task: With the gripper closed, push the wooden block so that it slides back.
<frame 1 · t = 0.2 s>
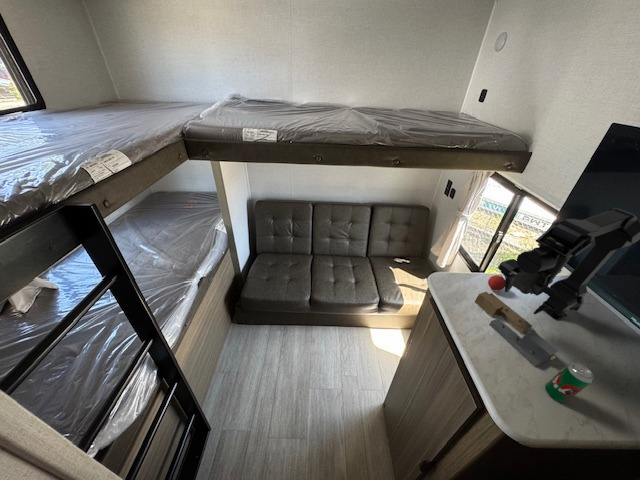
hand: (519, 302, 78), 14 cm above the worktop, fingers open, 9 cm apart
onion: (492, 289, 103), on the worktop
leaf fixed: (521, 339, 84), on the worktop
soda can: (554, 393, 70), on the worktop
wooden block: (503, 311, 91), point 2 cm above the worktop, slide at 9.5 cm
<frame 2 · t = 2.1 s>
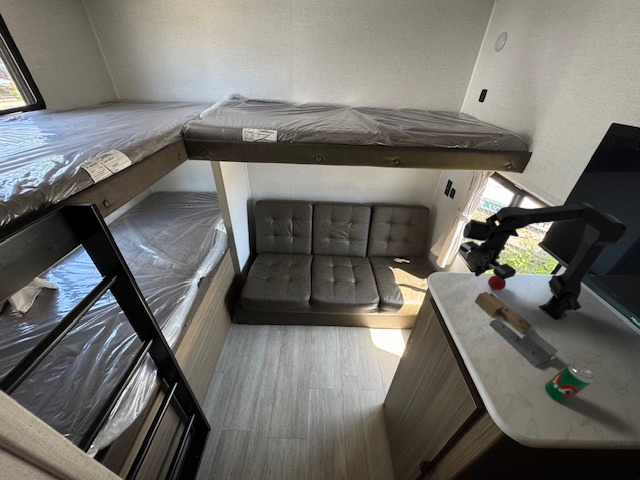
hand: (476, 275, 96), 9 cm above the worktop, fingers closed
nothing on the worktop moved.
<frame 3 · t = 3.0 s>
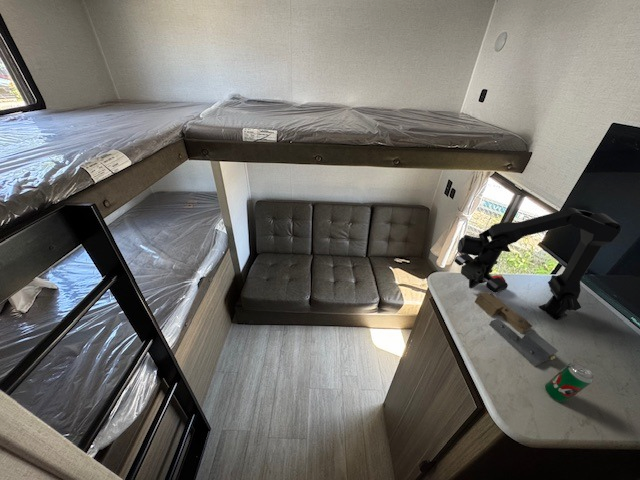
hand: (470, 287, 99), 2 cm above the worktop, fingers closed
nothing on the worktop moved.
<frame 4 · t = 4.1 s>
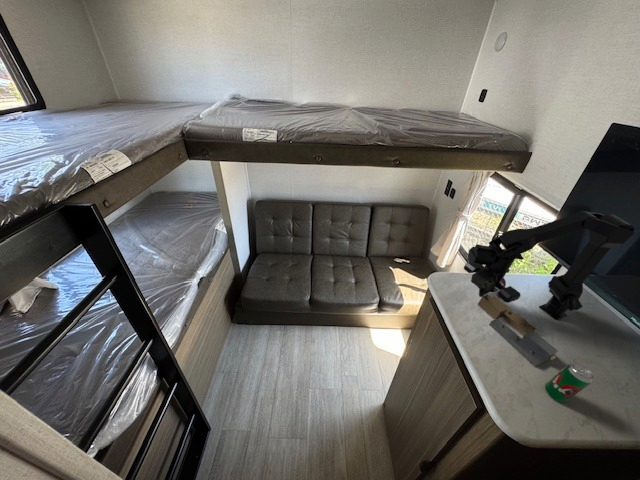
hand: (480, 296, 96), 2 cm above the worktop, fingers closed
wooden block: (507, 314, 90), point 2 cm above the worktop, slide at 8.1 cm, touching gripper
everything else where it was.
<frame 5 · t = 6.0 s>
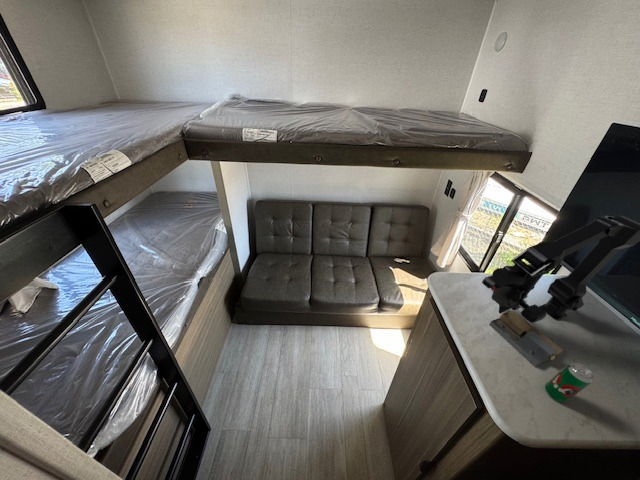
hand: (500, 312, 90), 2 cm above the worktop, fingers closed
wooden block: (529, 332, 84), point 2 cm above the worktop, slide at -0.1 cm, touching gripper
everything else where it was.
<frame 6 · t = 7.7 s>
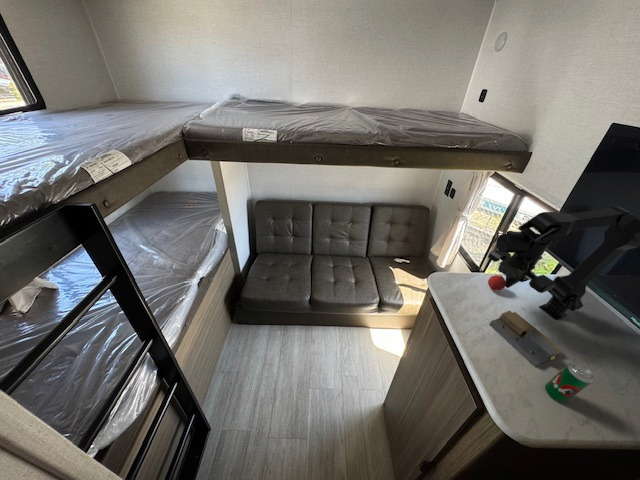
hand: (507, 287, 88), 12 cm above the worktop, fingers closed
wooden block: (529, 332, 84), point 2 cm above the worktop, slide at 0.0 cm
everything else where it was.
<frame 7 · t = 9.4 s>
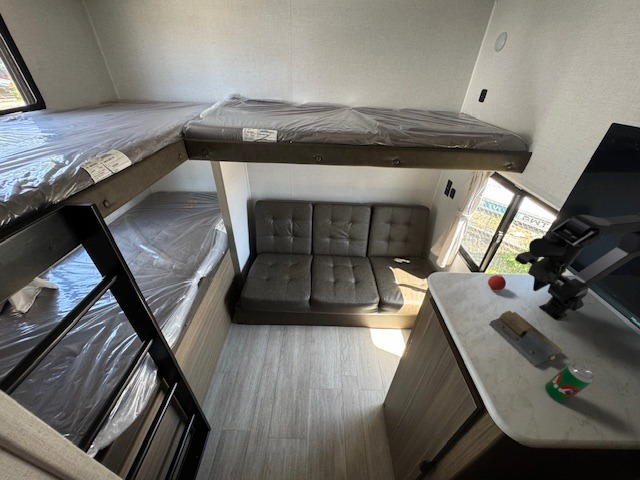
hand: (534, 290, 86), 12 cm above the worktop, fingers closed
nothing on the worktop moved.
at the end: wooden block slide at 0.0 cm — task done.
